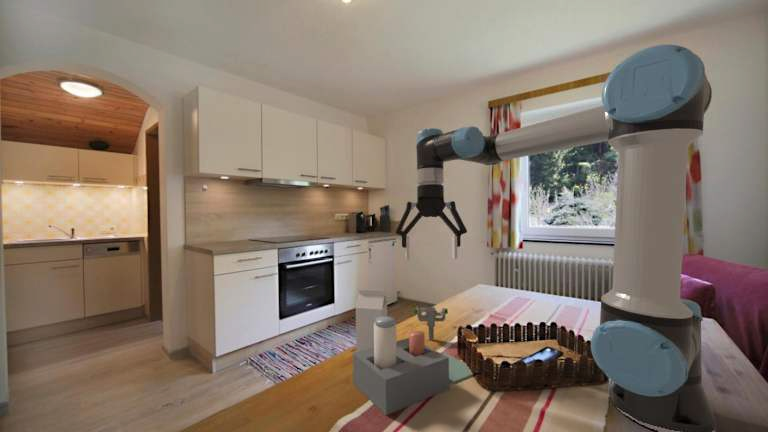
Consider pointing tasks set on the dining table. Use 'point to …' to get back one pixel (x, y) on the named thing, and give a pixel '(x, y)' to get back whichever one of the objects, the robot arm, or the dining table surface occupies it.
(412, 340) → the pink egg shape
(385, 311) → the milk carton
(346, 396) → the dining table surface
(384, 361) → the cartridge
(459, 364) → the mat
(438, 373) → the housing
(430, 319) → the mechanical component
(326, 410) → the dining table surface
